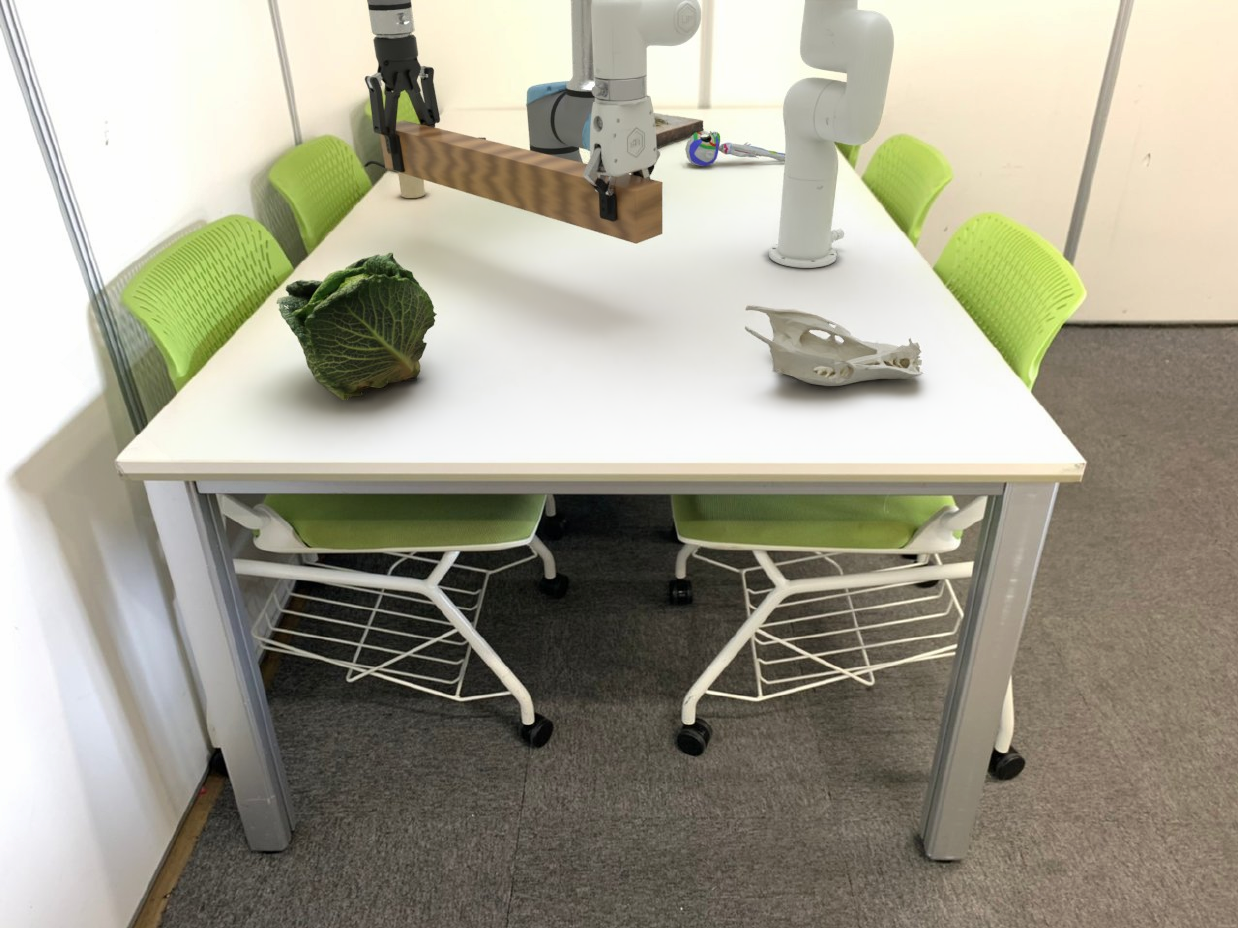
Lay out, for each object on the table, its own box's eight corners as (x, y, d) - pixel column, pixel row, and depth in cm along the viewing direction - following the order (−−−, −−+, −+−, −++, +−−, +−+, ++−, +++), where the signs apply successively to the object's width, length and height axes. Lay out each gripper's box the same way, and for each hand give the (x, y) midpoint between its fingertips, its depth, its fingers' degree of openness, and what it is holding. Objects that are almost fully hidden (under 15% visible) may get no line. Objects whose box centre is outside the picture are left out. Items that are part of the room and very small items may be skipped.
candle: (429, 193, 211) (424, 149, 206) (417, 199, 207) (411, 154, 201) (409, 191, 213) (403, 147, 207) (396, 197, 208) (390, 153, 203)
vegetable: (353, 408, 136) (266, 297, 128) (458, 337, 138) (379, 222, 130) (352, 443, 118) (251, 316, 110) (474, 360, 119) (382, 229, 111)
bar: (385, 168, 174) (378, 126, 170) (410, 162, 178) (404, 120, 173) (636, 244, 134) (635, 191, 130) (662, 234, 138) (662, 182, 133)
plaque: (647, 125, 237) (559, 112, 252) (647, 153, 241) (560, 139, 256) (706, 107, 258) (622, 97, 273) (705, 133, 262) (622, 121, 277)
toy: (809, 146, 225) (693, 132, 220) (801, 180, 229) (687, 167, 224) (798, 137, 233) (686, 124, 229) (791, 170, 238) (681, 158, 233)
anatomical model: (746, 295, 131) (922, 298, 128) (744, 352, 136) (913, 356, 133) (742, 338, 119) (937, 342, 115) (741, 399, 124) (927, 405, 120)
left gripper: (359, 43, 152) (382, 181, 164) (449, 30, 163) (465, 160, 176) (336, 40, 156) (360, 174, 169) (425, 27, 168) (442, 154, 180)
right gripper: (596, 102, 120) (601, 233, 130) (680, 82, 131) (679, 205, 140) (558, 96, 125) (566, 223, 135) (642, 77, 135) (644, 197, 145)
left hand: (413, 167), depth 172 cm, fingers closed on bar, 6 cm apart
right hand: (623, 213), depth 138 cm, fingers closed on bar, 6 cm apart
